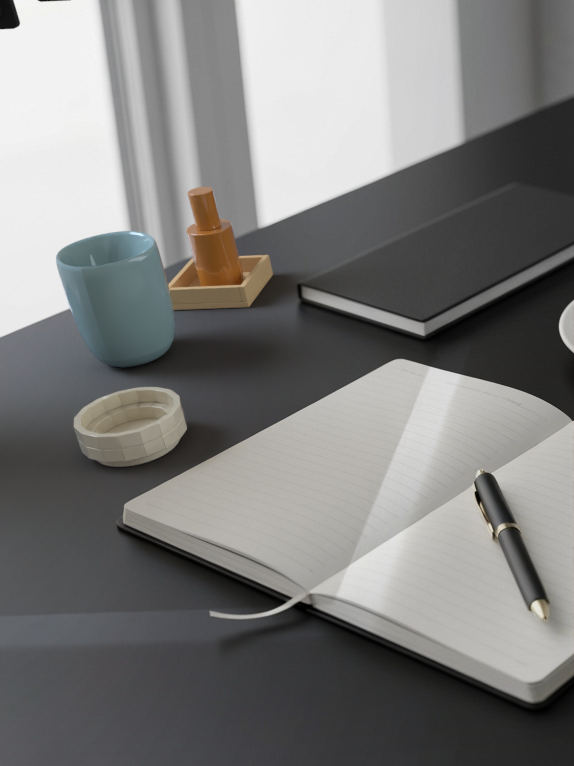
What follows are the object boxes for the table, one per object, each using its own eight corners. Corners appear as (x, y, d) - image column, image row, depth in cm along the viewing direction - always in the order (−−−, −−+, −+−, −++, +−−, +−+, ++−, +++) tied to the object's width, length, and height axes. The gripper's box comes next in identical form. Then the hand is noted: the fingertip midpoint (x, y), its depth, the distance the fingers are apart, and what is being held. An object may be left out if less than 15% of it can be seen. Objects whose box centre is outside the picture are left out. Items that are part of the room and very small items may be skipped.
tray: (168, 310, 117) (162, 289, 116) (197, 277, 124) (191, 257, 123) (249, 307, 117) (244, 286, 116) (273, 274, 124) (269, 254, 123)
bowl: (67, 473, 93) (55, 438, 91) (109, 422, 99) (99, 388, 98) (168, 469, 93) (157, 434, 91) (203, 418, 99) (194, 384, 98)
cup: (104, 387, 104) (70, 275, 100) (76, 356, 110) (42, 248, 105) (198, 356, 109) (169, 248, 104) (167, 328, 114) (138, 223, 109)
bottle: (195, 295, 119) (170, 199, 114) (209, 278, 122) (186, 184, 118) (237, 294, 119) (214, 197, 114) (251, 276, 122) (228, 182, 117)
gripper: (-33, -235, 98) (33, -8, 106) (-168, -221, 83) (-79, 43, 91) (63, -239, 98) (122, -12, 106) (-55, -226, 83) (24, 38, 91)
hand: (29, 13), depth 99 cm, fingers open, 9 cm apart
